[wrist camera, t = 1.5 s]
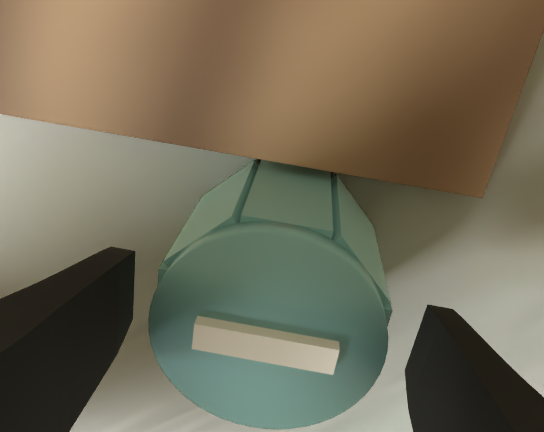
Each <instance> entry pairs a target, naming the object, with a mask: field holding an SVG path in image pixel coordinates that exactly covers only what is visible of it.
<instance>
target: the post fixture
mask: <svg viewBox="0 0 544 432" xmlns="http://www.w3.org/2000/svg"><path fill="white" fill-rule="evenodd" d="M543 30H544V0H0V114H4V115H10V116H15V117H21V118H27V119H32V120H38V121H44V122H50V123H55V124H61V125H67V126H73V127H78V128H84V129H90V130H95V131H101V132H107V133H113V134H118V135H124V136H130V137H135V138H141V139H147V140H153V141H158V142H164V143H170V144H176V145H181V146H187V147H193V148H198V149H204V150H210V151H216V152H221V153H227V154H233V155H239V156H244V157H250V158H256V159H261V160H267V161H273V162H279V163H284V164H290V165H296V166H302V167H307V168H313V169H319V170H324V171H330V172H336V173H342V174H347V175H353V176H359V177H364V178H370V179H376V180H382V181H387V182H393V183H399V184H405V185H410V186H416V187H422V188H427V189H433V190H439V191H445V192H450V193H456V194H462V195H468V196H473V197H479V198H483V196H484V193H485V190H486V187H487V185H488V182H489V179H490V176H491V174H492V171H493V168H494V165H495V163H496V160H497V157H498V154H499V152H500V149H501V146H502V143H503V141H504V138H505V135H506V132H507V130H508V127H509V124H510V121H511V119H512V116H513V113H514V110H515V107H516V105H517V102H518V99H519V96H520V94H521V91H522V88H523V85H524V83H525V80H526V77H527V74H528V72H529V69H530V66H531V63H532V61H533V58H534V55H535V52H536V50H537V47H538V44H539V41H540V39H541V36H542V33H543Z"/></svg>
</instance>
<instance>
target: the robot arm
mask: <svg viewBox="0 0 544 432" xmlns="http://www.w3.org/2000/svg"><path fill="white" fill-rule="evenodd" d="M134 271H135V251H131V250H126V249H121V248H115V247H109V248H107V249H105V250H102V251H100V252H98V253H96V254H94V255H92V256H90V257H88V258H86V259H84V260H82V261H80V262H78V263H77V264H75V265H73V266H71V267H69V268H67V269H65V270H63V271H61V272H59V273H56V274H54V275H52V276H50V277H48V278H46V279H44V280H42V281H40V282H38V283H35V284H33V285H31V286H29V287H26V288H24V289H22V290H20V291H17V292H15V293H13V294H11V295H8V296H6V297H4V298H1V299H0V432H69V431H70V429H71V428H72V426H73V425H74V423H75V421H76V420H77V418H78V417H79V415H80V413H81V412H82V410H83V409H84V407H85V405H86V404H87V402H88V401H89V399H90V397H91V396H92V394H93V393H94V391H95V389H96V388H97V386H98V385H99V383H100V381H101V380H102V378H103V376H104V375H105V373H106V372H107V370H108V368H109V367H110V365H111V363H112V362H113V360H114V358H115V357H116V355H117V353H118V351H119V349H120V347H121V345H122V343H123V340H124V338H125V336H126V334H127V331H128V329H129V327H130V324H131V322H132V320H133V299H134ZM405 377H406V391H407V401H408V409H409V414H410V419H411V423H412V428H413V432H544V397H543V396H542V395H540V394H539V393H538V392H537V391H536V390H535V389H534V388H533V387H532V386H530V385H529V384H528V383H527V382H526V381H525V380H524V379H523V378H522V377H521V376H520V375H519V374H518V373H517V372H516V371H514V370H513V369H512V368H511V367H510V366H509V365H508V364H507V363H506V362H505V361H504V360H503V359H502V358H501V357H500V356H499V355H498V354H497V353H496V352H495V351H494V350H493V349H492V348H491V347H490V346H489V345H488V343H487V342H486V341H485V340H484V339H483V338H482V337H481V336H480V335H479V334H478V333H477V332H476V331H475V330H474V329H473V328H472V327H471V326H470V325H469V324H468V323H467V322H466V321H465V320H464V319H463V318H462V317H461V316H460V315H459V314H458V313H457V312H455V311H454V310H453V309H449V308H443V307H438V306H432V305H427V308H426V311H425V313H424V316H423V319H422V322H421V325H420V328H419V331H418V334H417V336H416V339H415V342H414V345H413V348H412V351H411V354H410V357H409V360H408V362H407V365H406V368H405Z"/></svg>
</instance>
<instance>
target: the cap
mask: <svg viewBox="0 0 544 432" xmlns="http://www.w3.org/2000/svg"><path fill="white" fill-rule="evenodd" d="M391 313H392V307H391V301H390V297H389V292H388V288H387V283H386V279H385V275H384V270H383V266H382V261H381V257H380V252H379V248H378V244H377V239H376V235H375V230H374V226H373V225H372V223H371V222H370V221H369V219H368V218H367V216H366V215H365V214H364V212H363V211H362V209H361V208H360V207H359V205H358V204H357V202H356V201H355V199H354V198H353V197H352V195H351V194H350V192H349V191H348V190H347V188H346V187H345V185H344V184H343V183H342V181H341V180H340V178H339V177H338V175H337V174H336V175H335V176H333V177H332V178H331V174H330V171H324V170H319V169H313V168H307V167H302V166H296V165H290V164H284V163H279V162H273V161H267V160H261V162H260V165H258V164H257V163H256V161H255V160H254V161H252V162H251V163H249V164H248V165H247V166H245V167H244V168H242V169H241V170H239V171H238V172H236V173H235V174H234V175H232V176H231V177H229V178H228V179H226V180H225V181H223V182H222V183H220V184H219V185H218V186H216V187H215V188H213V189H212V190H210V191H209V192H207V193H206V194H205V195H203V196H202V197H201V199H200V201H199V202H198V204H197V206H196V207H195V209H194V211H193V212H192V214H191V216H190V217H189V219H188V221H187V222H186V224H185V226H184V227H183V229H182V231H181V232H180V234H179V236H178V237H177V239H176V241H175V242H174V244H173V246H172V247H171V249H170V251H169V252H168V254H167V256H166V257H165V259H164V261H163V262H162V264H161V266H160V267H159V274H158V287H157V289H156V291H155V293H154V296H153V299H152V303H151V306H150V312H149V319H148V321H149V336H150V341H151V346H152V349H153V352H154V355H155V357H156V359H157V361H158V363H159V365H160V367H161V369H162V370H163V372H164V373H165V375H166V376H167V378H168V379H169V380H170V381H171V383H172V384H173V385H174V386H175V387H176V388H177V389H178V390H179V391H180V392H181V393H182V394H183V395H184V396H185V397H186V398H188V399H189V400H190V401H192V402H193V403H195V404H196V405H197V406H199V407H201V408H202V409H204V410H206V411H207V412H209V413H211V414H213V415H216V416H218V417H220V418H222V419H225V420H228V421H231V422H234V423H237V424H241V425H245V426H249V427H256V428H263V429H291V428H298V427H305V426H309V425H313V424H317V423H320V422H323V421H325V420H328V419H331V418H333V417H335V416H337V415H339V414H341V413H343V412H344V411H346V410H347V409H349V408H350V407H352V406H353V405H354V404H356V403H357V402H358V401H359V400H360V399H361V398H362V397H363V396H365V394H366V393H367V392H368V391H369V390H370V388H371V387H372V386H373V385H374V383H375V381H376V380H377V378H378V376H379V375H380V372H381V370H382V368H383V365H384V363H385V358H386V354H387V348H388V330H387V326H388V323H389V320H390V316H391Z"/></svg>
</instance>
